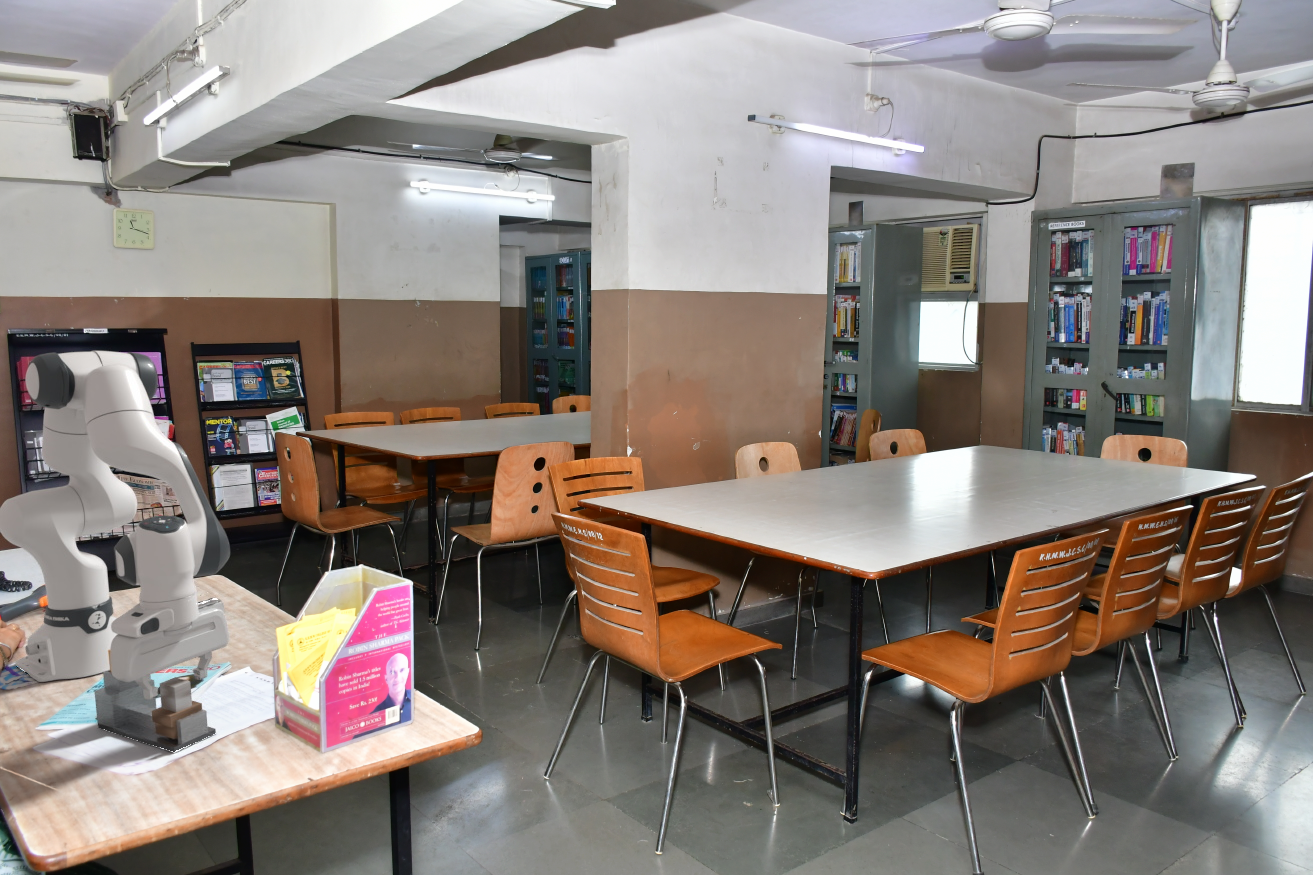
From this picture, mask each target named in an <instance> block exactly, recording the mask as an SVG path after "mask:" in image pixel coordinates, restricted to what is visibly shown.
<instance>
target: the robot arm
mask: <svg viewBox="0 0 1313 875" xmlns="http://www.w3.org/2000/svg"><path fill="white" fill-rule="evenodd" d="M158 375H159V374H158V371H157V368H156V364H155V363H154V361H153V360H152V358H150V357H149V356H148V355H146V354H142V353H137V352H132V351H128V352H121V351H120V352H119V351H111V350H110V351H109V350H91V351H74V352H73V351H71V352H64V353H63V352H62V353H57V352H56V351H55V352H47V353H42V354H41V353H40V354H38V355H36V356H34V357H33V358H32V359H31V360H30V361H29V363H28V366H27V370H26V373H25V386H26V387H25V388H26V390H27V392H28V395H29V398H30V399H31V401H33V403H35V404H36V405H37V406H39V407H41V408H44V413H43V423H42V424H43V425H42V440H41V441H42V442H41V443H42V444H41V456H42V460H43V461H44V463H45V464H46V465H47V467H48V468H49V469H52V470H53V471H55V472H57V473H60V474H63V475H66V476H69V481H68V484H66V485H63V486H57V487H51V488H50V487H49V488H43V489H38V490H32V491H28V492H25V493H22V494H18V495H16V496H14V497H11V498H8V499H6V500H5V501H4V502H3V503H2V505H1V506H0V533H1V535H2V537H3V538H4V539H5V540H6V541H8V542H9V543H10V544H12V545H14V546H17V547H19V548H21V549H23V550H24V551H26V552H27V553H29V555H31V556H32V557H33V558H34V560H35V561H36V563H37V564H38V565H39V567H40V569H41V572H42V575H43V580H44V586H45V593H46V600H47V605H44V606H41V608H45V609H43V610H42V613H43V614H44V615H43V616H44V618H43V623H42V624H41V625H40V626H39V628H37V630H35V631H34V632H33V633H32V634H31V635H30V636H28V639H27V644H26V645H25V647H24V648H25V650H24V651H25V653H26V656H24V657H21V658H19V659H17V661H15V664H14V666H15V665H16V666H18V667H19V668H21V669H23V670H24V671H25V672H27V673H28V674H29V675H30V676H29V675H28V674H27V675H28V676H29V677H30V678H32V679H33V680H36V681H37V682H39V683H44V682H45V683H46V682H52V681H57V680H68V679H69V680H70V679H77V678H84V677H89V676H94V675H99V674H103V672H104V671H107V670H110V665H109V654H108V650H110V662H111V673H112V675H113V677H115V678H116V679H117V680H120V681H124V682H131V681H134V680H135V681H136V682H137V683H138V684H139V686H140V687H141V688H142V689H143V694H144V698H145V699H148V700H150V699H153V698H155V697H156V698H157V697H159V689H158V688H159V687H157V686H155V687H153V686H151V685H150V684H149V683H148V681H150V680H151V678H152V677H151V675H153V674H155V673H158V672H160V671H164V670H166V669H168V668H171V667H174V666H177V665H179V664H183V663H185V662H188V661H191V660H193V659H196V658H199V660H198V663H197V667H196V668H194V669H193V670H192V672H193V678H194V679H195V680H198V681H201V680H203V679H206V678H207V677H208V667H209V665H210V663H211V660H212V658H213V652H215V651H218V650H220V649H223V648H225V647H227V646H228V645H229V642H230V640H231V639H230V637H231V636H230V631H229V625H228V622H227V617H226V615H225V614H226V613H225V612H226V611H225V604H224V602H223V601H222V600H221V599H220V598H217V597H210V598H208V599H206V600H200V601H198V590H197V589H198V588H197V586H196V583H195V581H194V577H195V578H196V577H204V576H205V577H206V576H213V575H214V576H215V575H216V574H218V572H219V571H221V569H222V568H223V567H224V566H225V565H226V563H227V562H228V561H229V559H230V556H231V546H230V542H229V538H228V536H227V533H226V531H225V529H224V527H223V526H222V524H221V522H220V521H219V519H218V518H217V516H216V514H215V512H214V510H213V509H212V506H211V504H210V501H209V499H208V497H207V495H206V493H205V491H204V489H203V486H202V484H201V481H200V480H199V477H198V475H197V473H196V471H195V469H194V467H193V465H192V463H191V461H190V459H189V457H188V455H187V453H186V451H185V450H184V449H183V447H182V446H181V445H180V443H178V442H175V441H173V440H170V439H169V438H168V437H167V436H166V435H165V434H164V433H163V432H162V430H161V429H160V427H159V426H158V424H157V421H156V419H155V415H154V410H153V407H152V404H151V400H152V399H153V398H154V397H155V395H156V394H157V391H158V384H159V379H158V378H159V376H158ZM111 467H112V468H115V469H117V470H119V471H124V472H129V473H135V474H139V475H144V476H149V477H152V478H155V479H158V480H160V481H162V482H164V483H166V484H167V485H168V486H169V487H170V488H171V489H172V491H173V494H174V495H175V498H176V500H177V503H178V504H179V506H180V509H181V512H182V513H183V515H184V518H185V519H183V518H181V517H178V516H175V515H155V516H152V517H148V518H145V519H143V520H141V521H139V522H138V523H137V525H136V529H135V531H133V532H130V533H127V534H124V535H123V536H122V537H121V538H120V539H119V541H118V542H117V543H116V544H115V546H114V547H113V553H114V564H115V566H114V567H115V575H116V577H117V578H118V579H120V580H122V581H123V582H125V583H126V584H129V585H132V586H140V591H139V598H138V601H139V603H137V604H136V605H134V606H133V607H132V608H131V609H129V610H128V611H126V612H125V613H123V614H122V615H120V616H119V617H115V616H113V615H114V603H113V598H112V597H111V596H110V588H109V577H108V567H107V565H106V562H105V561H104V560H103V559H102V558H100V557H99V556H97V555H95V554H91V553H88V552H84V551H80V550H79V549H78V547H77V540H76V539H77V538H80V537H86V536H91V535H95V534H102V533H106V532H110V531H112V530H115V529H118V528H120V527H122V526H124V525H128V524H130V523H131V522H132V521H133V520H134V518H135V516H136V513H137V512H138V511H137V510H138V500H137V495H136V494H135V492H134V490H133V489H132V487H130V485H128V484H127V483H126V482H125V481H122V480H120V479H119V478H118V477H117V476H116V475H115V474H114V473H113V471H112V469H111ZM16 666H15V667H16ZM25 672H24V673H25Z"/></svg>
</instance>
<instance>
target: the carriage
mask: <svg viewBox="0 0 1313 875" xmlns="http://www.w3.org/2000/svg"><path fill="white" fill-rule="evenodd" d="M159 692H160V694H159V695H160V702H161V703H160V704H161V705H160V707H156V709H155V710H153V711H152V720H153V722H155V729H156V734H159V735H162V736H166V737H169V738H172V739H176V738H178V734H177V720H179V719H182V718H184V717H186V716H189V715H191V714H193V713H196V712H198V711H200V710H203V704H202V703H201V702H198V701H195V700H193V699H192V688H191V681H190V680H186V679H182V678H179V677H176V676H175V677H174V678H170V679H168V680H165V681H163V682H160V683H159Z"/></svg>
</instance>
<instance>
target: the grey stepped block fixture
mask: <svg viewBox="0 0 1313 875" xmlns="http://www.w3.org/2000/svg"><path fill="white" fill-rule="evenodd" d="M102 674H103V675H102V677H103V687H102V688H99V689H96V690H94V699H95V712H96V721H97V729H99V728H101V729H100V730H102V729H105V730H107V731H106V732H108V731H110V732H109V733H111V732H113V733H112V734H114V733H116V734H115V735H117V734H119V735H118V736H120V735H122V736H121V737H124V736H126V737H125V738H127V737H129V738H128V739H130V738H132V739H131V740H133V739H134V740H133V741H136V740H138V741H137V742H139V741H141V742H140V743H142V742H144V743H143V744H145V743H147V744H146V745H148V744H150V745H149V746H151V745H154V746H157V747H161V748H164V749H167V750H170V751H173V752H175V751H176V750H179V749H181V748H183V747H186V746H188V745H190V744H193V743H195V742H198V741H200V740H202V739H204V738H206V737H208V736H211V735H213V734H215V733H216V734H217V731H216V728H214V727H210V726H208V717H207V710H205V709H202V710H200V711H198V712H196V713H193V714H191V715H189V716H186V717H184V718H182V719H179V720H177V734H178V738H176V739H172V738H169V737H166V736H162V735H159V734H156V729H155V722H153V720H152V711H153V710H155V709H157V697H155V698H153V699H150V700H148V699H145V698H144V694H143V689H142V688H141V687H140V686H139V684H138V683H137V682H136V681H135V680H134V681H131V682H124V681H120V680H117V679H116V678H115V677H113V675H112V673H111V672H110V670H107V671H104V672H102ZM148 683H149V684H150V685H151V686H153V687H156V686H155V679H151V680H150V681H148ZM105 730H104V731H105ZM216 734H215V735H216ZM213 736H214V735H213ZM211 737H212V736H211ZM204 740H205V739H204ZM202 741H203V740H202ZM200 742H201V741H200ZM198 743H199V742H198ZM154 746H153V747H154ZM157 747H156V748H157Z"/></svg>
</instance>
